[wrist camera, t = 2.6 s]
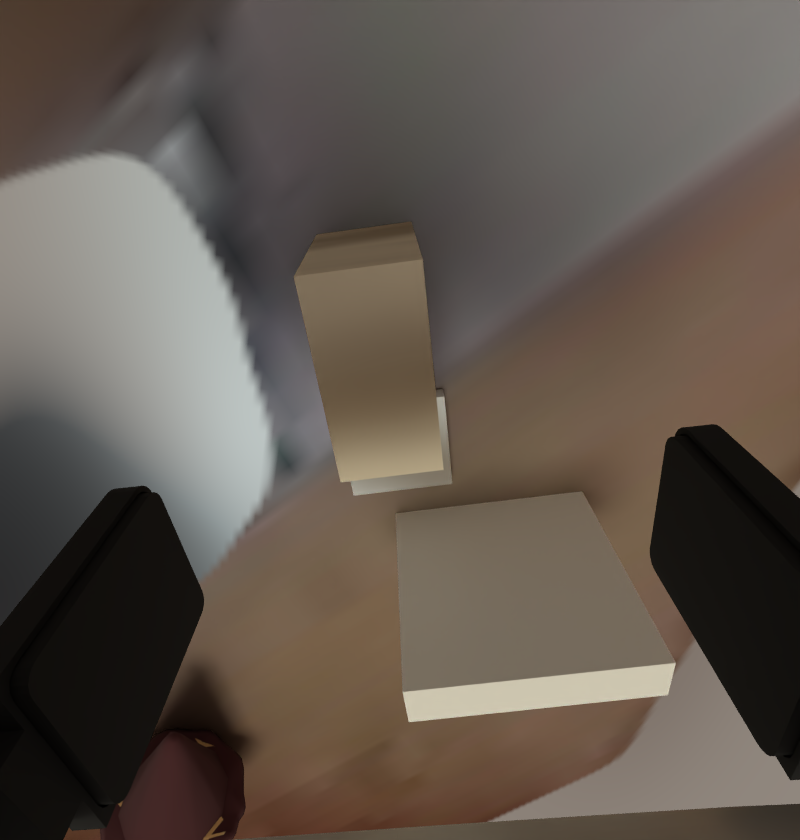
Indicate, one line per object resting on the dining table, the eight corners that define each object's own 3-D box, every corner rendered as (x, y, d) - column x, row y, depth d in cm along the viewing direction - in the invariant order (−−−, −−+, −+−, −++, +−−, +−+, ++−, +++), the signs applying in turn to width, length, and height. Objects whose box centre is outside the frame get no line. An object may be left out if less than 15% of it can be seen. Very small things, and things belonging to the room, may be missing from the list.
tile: (395, 512, 22) (402, 691, 15) (582, 490, 22) (675, 663, 15) (400, 542, 23) (409, 724, 16) (579, 521, 23) (667, 697, 16)
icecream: (35, 794, 21) (82, 896, 29) (205, 863, 20) (203, 947, 28) (146, 642, 26) (158, 765, 35) (280, 693, 26) (260, 804, 34)
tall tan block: (300, 236, 16) (272, 279, 12) (426, 219, 16) (444, 256, 12) (354, 486, 21) (347, 579, 17) (450, 474, 21) (468, 566, 17)
